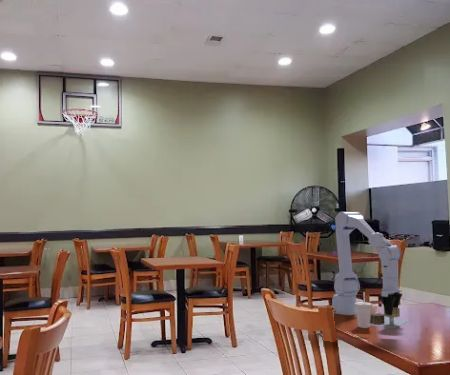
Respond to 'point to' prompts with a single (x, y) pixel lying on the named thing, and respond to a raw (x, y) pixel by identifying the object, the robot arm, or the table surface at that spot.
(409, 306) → the table surface
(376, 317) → the walnut gear
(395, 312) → the beech gear
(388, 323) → the gear board
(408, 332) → the table surface
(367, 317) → the smoothie
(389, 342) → the table surface
